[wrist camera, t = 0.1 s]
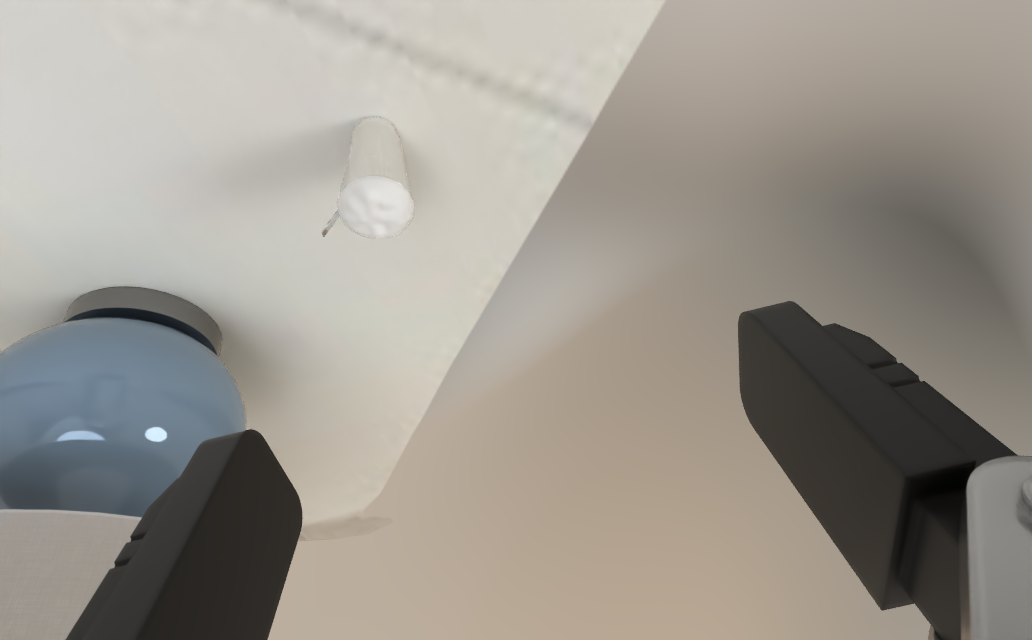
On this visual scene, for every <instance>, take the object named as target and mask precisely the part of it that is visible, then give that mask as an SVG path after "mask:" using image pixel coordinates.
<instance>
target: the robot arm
mask: <svg viewBox="0 0 1032 640" xmlns="http://www.w3.org/2000/svg"><path fill="white" fill-rule="evenodd" d="M738 342H739V372H740V373H739V375H740V393H741V398H742V403H743V406H744V409H745V412H746V414H747V417H748V419H749V421H750V423H751V424H752V426H753V428H754V429H755V431H756V432H757V434H758V435H759V436H760V438H761V439H762V441H763V442H764V443H765V445H766V446H767V448H768V449H769V451H770V452H771V453H772V455H773V456H774V458H775V459H776V461H777V462H778V464H779V465H780V466H781V468H782V469H783V471H784V472H785V473H786V475H787V476H788V478H789V479H790V480H791V482H792V483H793V485H794V486H795V488H796V489H797V490H798V492H799V493H800V495H801V496H802V498H803V499H804V501H805V502H806V503H807V505H808V506H809V508H810V509H811V510H812V512H813V513H814V515H815V516H816V518H817V519H818V520H819V522H820V523H821V525H822V526H823V528H824V529H825V530H826V532H827V533H828V535H829V536H830V537H831V539H832V540H833V542H834V543H835V545H836V546H837V547H838V549H839V550H840V552H841V553H842V554H843V556H844V558H845V559H846V560H847V562H848V563H849V565H850V566H851V568H852V569H853V570H854V572H855V573H856V575H857V576H858V577H859V579H860V580H861V582H862V583H863V585H864V586H865V587H866V589H867V590H868V592H869V593H870V595H871V596H872V597H873V599H874V600H875V602H876V603H877V605H878V606H879V607H880V609H881V610H887V609H891V608H896V607H900V606H905V605H909V604H914V603H915V604H916V606H917V607H918V608H919V610H920V611H921V612H922V613H923V615H924V616H925V618H926V619H927V620H928V621H929V623H930V624H931V626H930V630H929V636H928V640H1032V456H1018V455H1017V454H1015V453H1014V452H1013V451H1011V450H1010V449H1009V448H1008V447H1006V446H1005V445H1004V444H1003V443H1001V442H1000V441H999V440H998V439H996V438H995V437H994V436H993V435H991V434H990V433H989V432H988V431H986V430H985V429H984V428H983V427H981V426H980V425H979V424H978V423H976V422H975V421H974V420H972V419H971V418H970V417H969V416H968V415H966V414H965V413H964V412H963V411H961V410H960V409H959V408H958V407H956V406H955V405H954V404H953V403H951V402H950V401H949V400H947V399H946V398H945V397H944V396H943V395H941V394H940V393H939V392H937V391H936V390H935V389H934V388H933V387H931V386H930V385H929V384H928V383H926V382H925V381H922V382H921V381H920V380H919V377H918V375H916V374H915V373H914V372H913V371H911V370H910V369H909V368H907V367H906V366H905V365H904V364H903V363H897V361H896V358H895V357H894V356H892V355H891V354H890V353H889V352H888V351H886V350H885V349H884V348H882V347H881V346H880V345H879V344H877V343H876V342H875V341H874V340H872V339H871V338H870V337H867V336H865V335H863V334H860V333H858V332H855V331H852V330H850V329H847V328H845V327H842V326H840V325H837V324H835V323H834V324H830V325H825V326H822V325H821V324H819V323H818V322H817V321H816V320H815V319H814V318H813V317H811V316H810V315H809V314H808V313H807V312H806V311H805V310H803V309H802V308H801V307H800V306H799V305H798V304H796V303H795V302H792V301H787V302H784V303H779V304H775V305H771V306H767V307H763V308H758V309H754V310H751V311H746V312H743V313H741V315H740V317H739V321H738ZM301 527H302V507H301V503H300V499H299V496H298V494H297V492H296V490H295V488H294V487H293V485H292V483H291V482H290V480H289V478H288V477H287V475H286V473H285V472H284V470H283V469H282V467H281V465H280V464H279V462H278V460H277V459H276V457H275V455H274V454H273V452H272V450H271V449H270V447H269V445H268V444H267V442H266V441H265V439H264V438H263V436H262V435H261V434H260V433H259V432H257V431H256V430H252V429H250V430H246V431H241V432H237V433H233V434H229V435H225V436H221V437H216V438H212V439H208V440H205V441H203V442H202V443H201V444H200V445H199V446H198V448H197V449H196V451H195V453H194V454H193V456H192V458H191V459H190V461H189V463H188V464H187V466H186V468H185V469H184V471H183V473H182V474H181V476H180V478H177V479H176V480H175V481H174V482H173V483H172V484H171V485H170V486H169V487H168V488H167V489H166V490H165V491H164V492H163V493H162V494H161V495H160V496H159V497H158V498H157V499H156V500H155V501H154V502H153V503H152V504H151V505H150V506H149V507H148V509H147V510H146V512H145V514H144V515H143V517H142V518H141V520H140V522H139V523H138V525H137V526H136V528H135V530H134V531H133V533H132V534H131V536H130V538H131V541H130V542H128V543H126V544H125V546H124V547H123V549H122V550H121V552H120V553H119V555H118V557H117V558H116V560H115V561H114V563H115V567H114V568H112V569H109V571H108V573H107V574H106V576H105V577H104V579H103V581H102V582H101V584H100V585H99V587H98V589H97V590H96V592H95V593H94V595H93V596H92V598H91V600H90V601H89V603H88V604H87V606H86V608H85V609H84V611H83V612H82V614H81V616H80V617H79V619H78V620H77V622H76V624H75V625H74V627H73V628H72V630H71V632H70V633H69V635H68V636H67V638H66V640H267V639H268V636H269V632H270V629H271V626H272V623H273V619H274V616H275V613H276V610H277V606H278V603H279V600H280V596H281V593H282V590H283V587H284V584H285V581H286V577H287V574H288V571H289V567H290V564H291V561H292V558H293V554H294V551H295V548H296V545H297V541H298V538H299V535H300V532H301Z"/></svg>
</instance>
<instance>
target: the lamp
mask: <svg viewBox="0 0 1032 640" xmlns="http://www.w3.org/2000/svg"><path fill="white" fill-rule="evenodd" d="M221 346H222V336H221V332H220V330H219V327H218V326H217V324H216V323H215V321H214V320H213V319H212V318H211V317H210V316H209V315H208V314H207V313H206V312H204V311H203V310H202V309H200V308H199V307H197V306H195V305H194V304H192V303H190V302H188V301H186V300H184V299H182V298H179V297H177V296H174V295H171V294H168V293H165V292H161V291H157V290H152V289H146V288H139V287H111V288H104V289H99V290H96V291H92V292H89V293H87V294H85V295H83V296H81V297H79V298H78V299H76V300H75V301H74V302H73V303H72V304H71V305H70V307H69V308H68V310H67V313H66V315H65V317H64V319H63V321H62V323H61V324H57V325H54V326H50V327H47V328H44V329H42V330H39V331H37V332H35V333H33V334H30V335H28V336H26V337H24V338H22V339H20V340H18V341H17V342H15V343H13V344H12V345H11V346H9V347H8V348H6V349H5V350H3V351H2V352H1V353H0V640H66V638H67V636H68V635H69V633H70V632H71V630H72V628H73V627H74V625H75V624H76V622H77V620H78V619H79V617H80V616H81V614H82V612H83V611H84V609H85V608H86V606H87V604H88V603H89V601H90V600H91V598H92V596H93V595H94V593H95V592H96V590H97V589H98V587H99V585H100V584H101V582H102V581H103V579H104V577H105V576H106V574H107V573H108V571H109V569H112V568H114V567H115V563H114V561H115V560H116V558H117V557H118V555H119V553H120V552H121V550H122V549H123V547H124V546H125V544H126V543H128V542H130V541H131V538H130V536H131V534H132V533H133V531H134V530H135V528H136V526H137V525H138V523H139V522H140V520H141V518H142V517H143V515H144V514H145V512H146V510H147V509H148V507H149V506H150V505H151V504H152V503H153V502H154V501H155V500H156V499H157V498H158V497H159V496H160V495H161V494H162V493H163V492H164V491H165V490H166V489H167V488H168V487H169V486H170V485H171V484H172V483H173V482H174V481H175V480H176V479H177V478H180V476H181V474H182V473H183V471H184V469H185V468H186V466H187V464H188V463H189V461H190V459H191V458H192V456H193V454H194V453H195V451H196V449H197V448H198V446H199V445H200V444H201V443H202V442H203V441H205V440H208V439H212V438H216V437H221V436H225V435H229V434H233V433H237V432H241V431H246V425H247V420H246V412H245V406H244V402H243V398H242V395H241V392H240V389H239V387H238V385H237V383H236V381H235V379H234V377H233V375H232V373H231V372H230V371H229V369H228V368H227V367H226V365H225V364H224V363H223V362H222V360H221V359H220V358H219V355H220V350H221Z"/></svg>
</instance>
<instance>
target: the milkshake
mask: <svg viewBox="0 0 1032 640" xmlns="http://www.w3.org/2000/svg"><path fill="white" fill-rule="evenodd" d="M337 207H338V210H337V211H336V212H335V214H334V215H333V217H332V218H331V219H330V221H329V222H328V223H327V225H326V226H325V227H324V229H323V230H322V234H323V237H325V235H326V234H327V233H328V231H329V230H330V228H331V227H332V226H333V224H334V223H335V221H336V220H337V219H338V217H339V216H340V218H341V219H342V221H343V223H344V224H345V225H346V226H347V227H348V228H349V229H350V230H352V231H353V232H355V233H357V234H359V235H361V236H364V237H368V238H389V237H393V236H396V235H398V234H400V233H401V232H403V231H404V230H405V229H406V227H407V226H408V224H409V223H410V221H411V220H412V218H413V214H414V204H413V199H412V195H411V191H410V187H409V182H408V178H407V173H406V167H405V162H404V156H403V151H402V146H401V140H400V136H399V134H398V133H397V131H396V129H395V127H394V125H393V124H392V123H390V122H388V121H386V120H384V119H382V118H381V117H372V118H364V119H363V120H362V121H361V122H359V123H358V124H357V125H356V126H354V129H353V134H352V140H351V145H350V151H349V156H348V161H347V166H346V170H345V173H344V177H343V181H342V185H341V189H340V193H339V197H338V201H337Z"/></svg>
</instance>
